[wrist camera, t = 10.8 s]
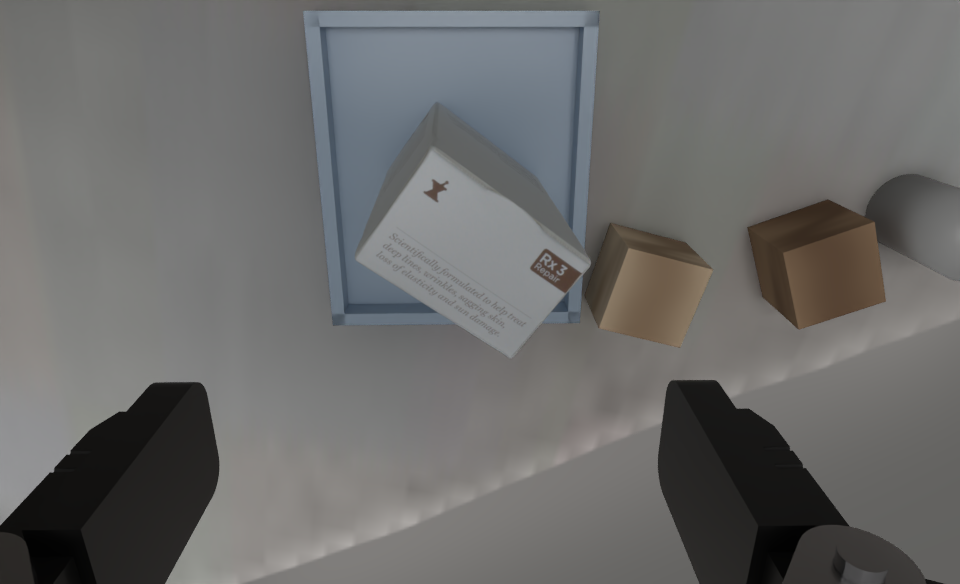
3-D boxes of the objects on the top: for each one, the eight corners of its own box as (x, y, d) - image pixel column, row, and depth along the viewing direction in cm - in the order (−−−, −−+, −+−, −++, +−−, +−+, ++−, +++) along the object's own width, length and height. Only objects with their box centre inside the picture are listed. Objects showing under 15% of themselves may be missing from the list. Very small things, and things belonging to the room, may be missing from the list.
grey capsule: (948, 174, 31) (1031, 199, 27) (928, 244, 33) (1004, 280, 28) (874, 174, 31) (945, 200, 27) (858, 245, 33) (922, 281, 28)
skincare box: (383, 175, 30) (335, 265, 19) (439, 93, 29) (423, 138, 18) (490, 249, 32) (504, 373, 20) (548, 175, 30) (597, 264, 19)
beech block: (685, 242, 33) (713, 269, 29) (656, 312, 34) (680, 347, 30) (609, 222, 32) (628, 248, 28) (584, 295, 34) (598, 328, 30)
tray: (590, 11, 28) (599, 10, 26) (573, 306, 34) (579, 323, 32) (313, 11, 28) (303, 10, 26) (340, 308, 33) (333, 325, 32)
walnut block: (826, 199, 32) (874, 221, 28) (839, 270, 33) (885, 301, 30) (746, 226, 32) (783, 252, 29) (762, 296, 34) (798, 329, 30)
